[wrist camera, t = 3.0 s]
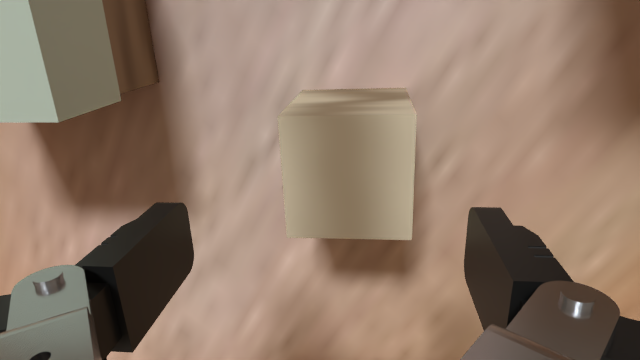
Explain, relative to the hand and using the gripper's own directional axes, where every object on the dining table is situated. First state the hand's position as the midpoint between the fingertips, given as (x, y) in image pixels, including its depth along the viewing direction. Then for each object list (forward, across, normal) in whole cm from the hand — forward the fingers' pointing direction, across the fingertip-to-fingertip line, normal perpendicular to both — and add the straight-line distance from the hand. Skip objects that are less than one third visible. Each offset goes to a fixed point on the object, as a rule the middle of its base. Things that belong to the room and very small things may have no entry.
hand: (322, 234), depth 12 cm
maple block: (+10, 0, 0) cm, 11 cm away
